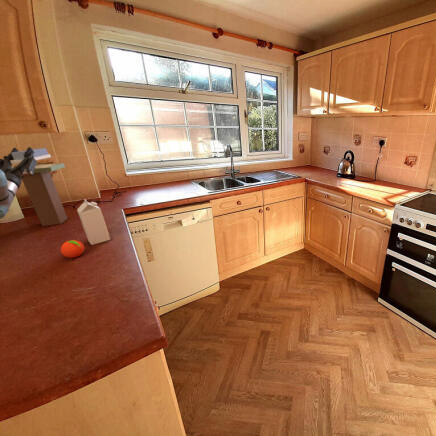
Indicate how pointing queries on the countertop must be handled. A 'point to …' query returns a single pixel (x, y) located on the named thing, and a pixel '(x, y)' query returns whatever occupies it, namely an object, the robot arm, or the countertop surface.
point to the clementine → (72, 248)
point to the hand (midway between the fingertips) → (24, 150)
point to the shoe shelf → (45, 194)
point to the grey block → (37, 154)
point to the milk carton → (93, 223)
